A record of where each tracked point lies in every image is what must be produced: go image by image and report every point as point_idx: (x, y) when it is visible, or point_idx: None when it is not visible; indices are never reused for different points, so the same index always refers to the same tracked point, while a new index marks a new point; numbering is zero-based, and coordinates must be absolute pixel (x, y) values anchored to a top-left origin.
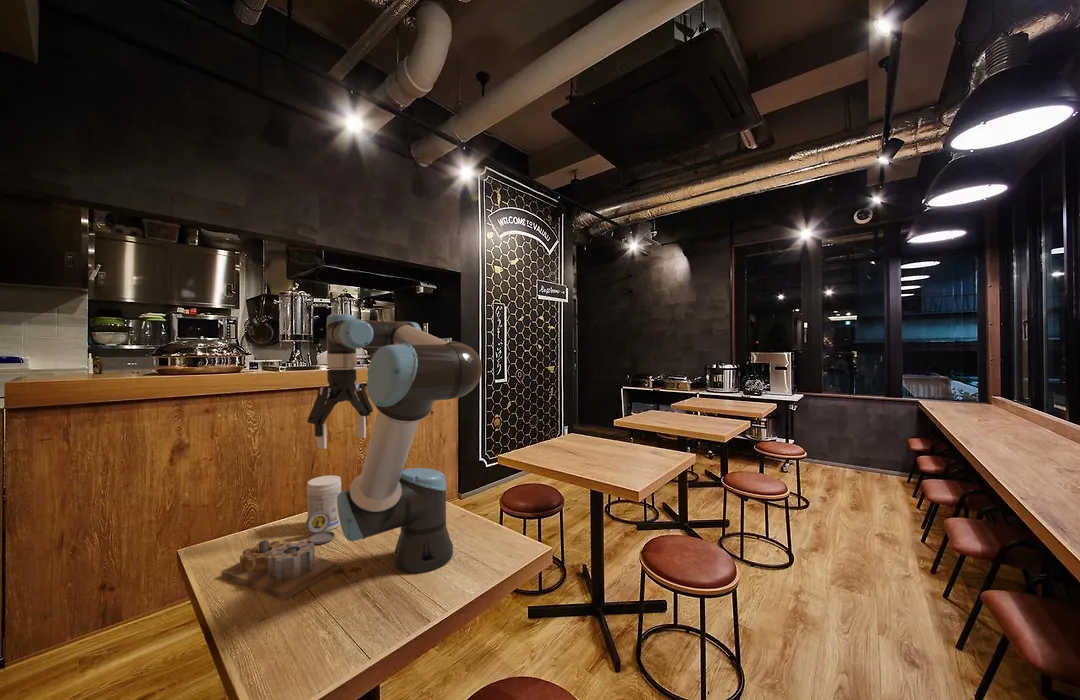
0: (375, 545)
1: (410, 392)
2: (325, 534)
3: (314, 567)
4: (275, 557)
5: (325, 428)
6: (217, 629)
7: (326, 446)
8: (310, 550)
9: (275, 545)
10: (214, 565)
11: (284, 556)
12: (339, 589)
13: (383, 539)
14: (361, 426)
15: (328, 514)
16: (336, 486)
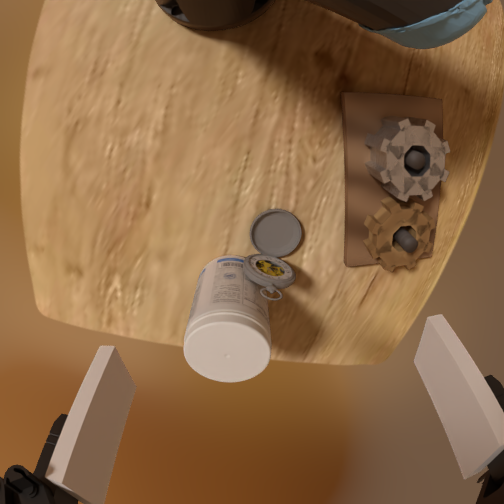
0: (232, 103)
1: None
2: (259, 244)
3: (376, 121)
4: (444, 163)
5: (494, 416)
6: (492, 129)
7: (433, 323)
8: (404, 121)
9: (386, 237)
10: (405, 296)
11: (436, 150)
12: (380, 37)
13: (202, 112)
14: (99, 426)
15: (248, 268)
16: (215, 312)
